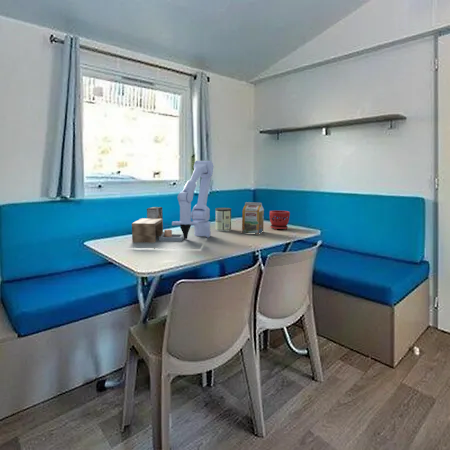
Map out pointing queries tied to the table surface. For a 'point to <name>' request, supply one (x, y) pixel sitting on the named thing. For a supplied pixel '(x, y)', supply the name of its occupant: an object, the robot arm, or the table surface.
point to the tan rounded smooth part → (167, 233)
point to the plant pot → (279, 219)
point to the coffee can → (223, 219)
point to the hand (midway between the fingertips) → (185, 238)
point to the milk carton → (252, 218)
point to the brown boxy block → (147, 230)
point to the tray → (174, 237)
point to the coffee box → (155, 213)
